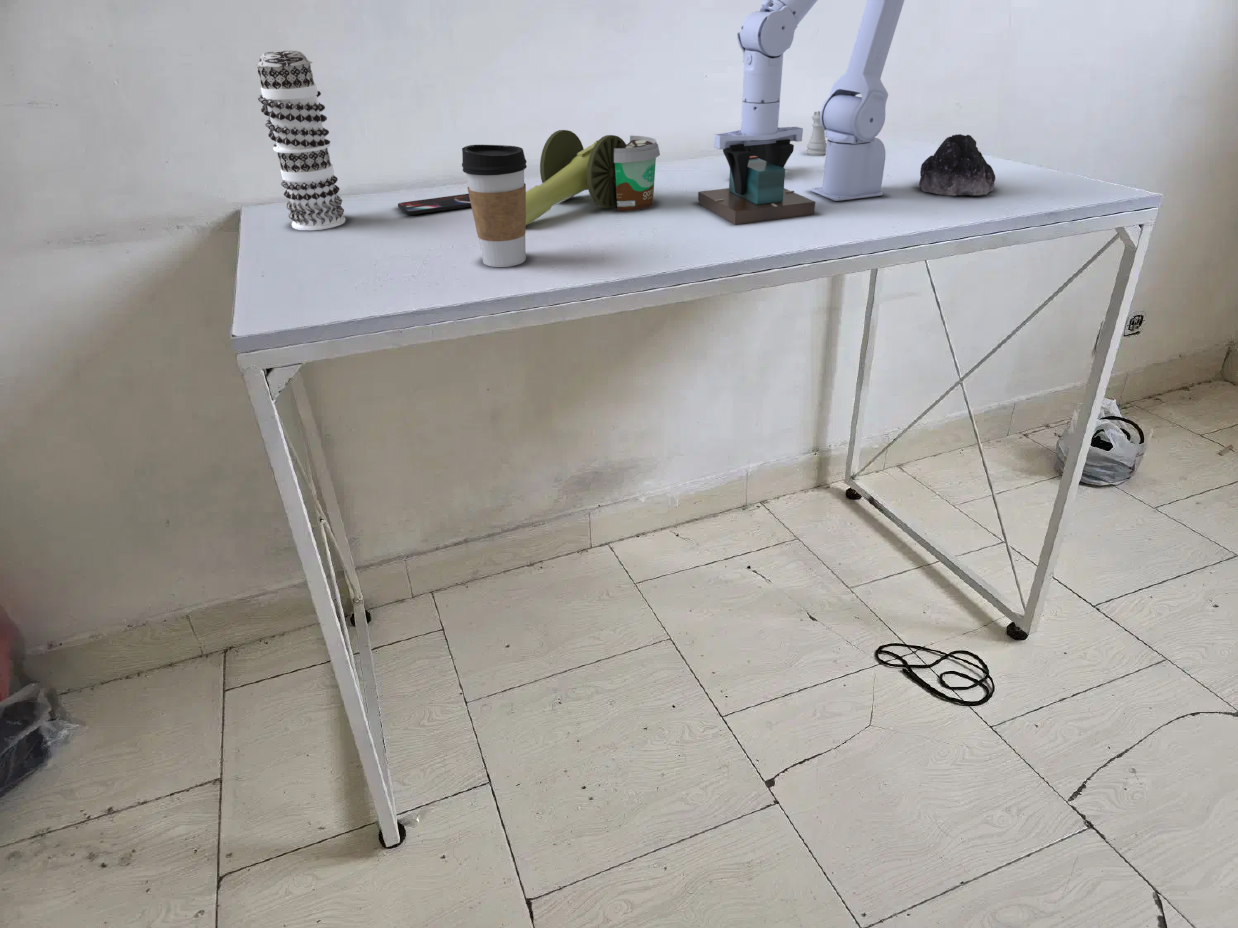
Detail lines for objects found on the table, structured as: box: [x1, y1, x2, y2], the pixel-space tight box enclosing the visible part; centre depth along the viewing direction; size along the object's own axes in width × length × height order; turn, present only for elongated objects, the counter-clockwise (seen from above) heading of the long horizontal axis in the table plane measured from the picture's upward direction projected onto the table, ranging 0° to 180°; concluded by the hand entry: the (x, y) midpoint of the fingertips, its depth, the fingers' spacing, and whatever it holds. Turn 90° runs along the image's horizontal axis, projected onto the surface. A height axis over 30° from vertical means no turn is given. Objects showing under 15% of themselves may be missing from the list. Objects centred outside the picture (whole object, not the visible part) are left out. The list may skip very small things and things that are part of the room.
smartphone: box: [397, 193, 472, 216], centre depth 138 cm, size 7×1×15 cm
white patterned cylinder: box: [254, 50, 346, 231], centre depth 125 cm, size 9×9×25 cm
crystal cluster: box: [918, 133, 997, 197], centre depth 137 cm, size 13×14×10 cm
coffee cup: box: [461, 144, 528, 268], centre depth 108 cm, size 8×8×15 cm
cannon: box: [526, 129, 626, 226], centre depth 131 cm, size 25×12×11 cm, turn 143°
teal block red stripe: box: [728, 156, 786, 205], centre depth 129 cm, size 10×5×5 cm, turn 20°
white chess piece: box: [805, 110, 827, 156], centre depth 166 cm, size 4×4×8 cm
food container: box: [614, 135, 661, 212], centre depth 133 cm, size 12×6×10 cm, turn 167°
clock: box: [697, 187, 816, 225], centre depth 131 cm, size 14×14×2 cm
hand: (755, 191), depth 130 cm, fingers open, 5 cm apart
